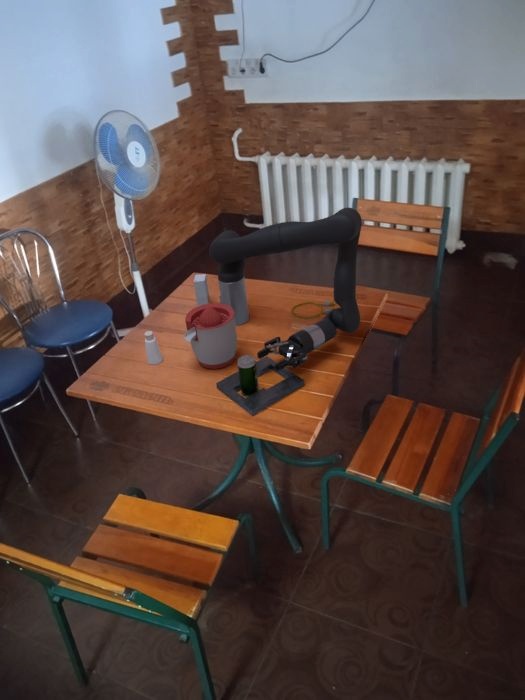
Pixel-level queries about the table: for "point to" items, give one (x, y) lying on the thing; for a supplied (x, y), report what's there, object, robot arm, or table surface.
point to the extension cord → (318, 305)
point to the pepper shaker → (152, 349)
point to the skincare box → (201, 289)
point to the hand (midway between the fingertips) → (266, 361)
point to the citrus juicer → (212, 334)
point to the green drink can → (248, 375)
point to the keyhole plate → (262, 396)
